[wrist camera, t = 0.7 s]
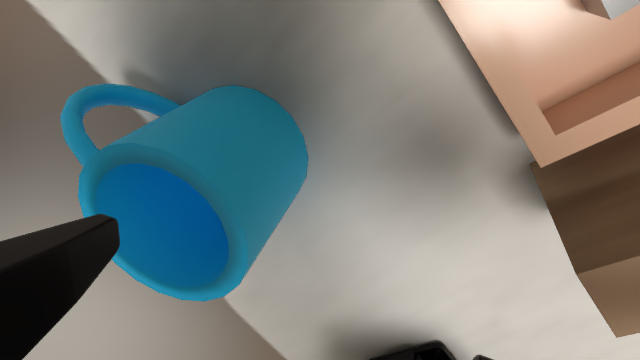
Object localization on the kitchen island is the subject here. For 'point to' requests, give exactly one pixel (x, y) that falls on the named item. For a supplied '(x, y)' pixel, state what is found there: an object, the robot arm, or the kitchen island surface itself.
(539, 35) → the shallow wooden tray
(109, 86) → the mug
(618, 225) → the wooden rectangular block
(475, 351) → the kitchen island surface
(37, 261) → the robot arm
